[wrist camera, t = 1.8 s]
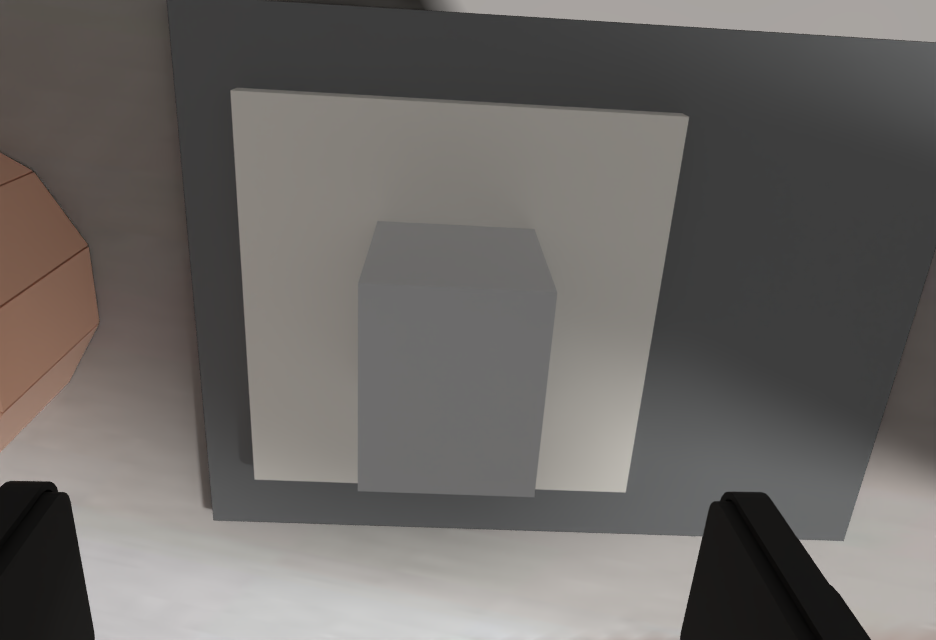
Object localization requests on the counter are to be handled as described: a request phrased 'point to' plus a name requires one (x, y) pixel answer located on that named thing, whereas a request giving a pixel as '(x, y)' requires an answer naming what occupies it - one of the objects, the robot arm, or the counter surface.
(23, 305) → the bowl
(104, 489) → the counter surface
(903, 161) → the mat
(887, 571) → the counter surface
